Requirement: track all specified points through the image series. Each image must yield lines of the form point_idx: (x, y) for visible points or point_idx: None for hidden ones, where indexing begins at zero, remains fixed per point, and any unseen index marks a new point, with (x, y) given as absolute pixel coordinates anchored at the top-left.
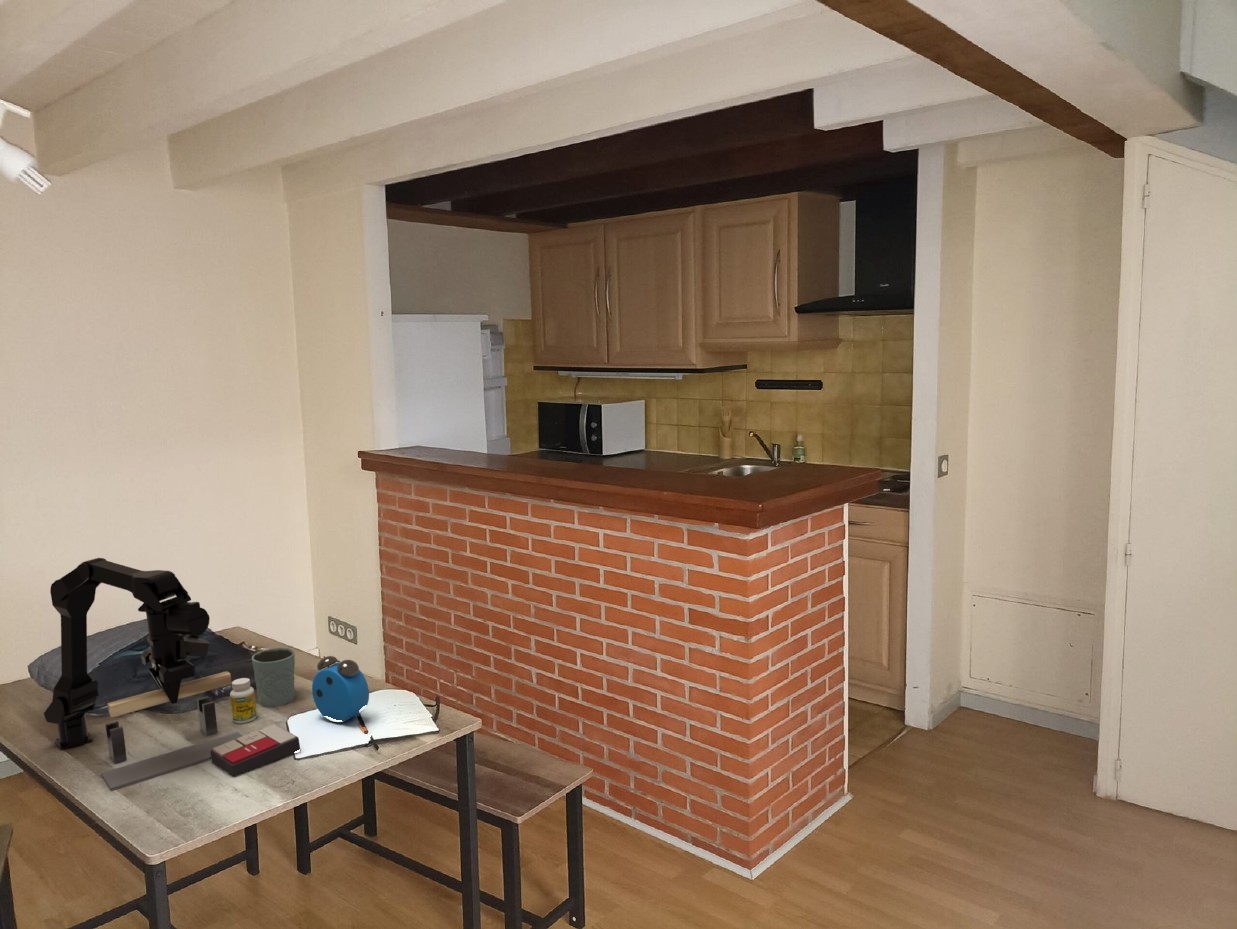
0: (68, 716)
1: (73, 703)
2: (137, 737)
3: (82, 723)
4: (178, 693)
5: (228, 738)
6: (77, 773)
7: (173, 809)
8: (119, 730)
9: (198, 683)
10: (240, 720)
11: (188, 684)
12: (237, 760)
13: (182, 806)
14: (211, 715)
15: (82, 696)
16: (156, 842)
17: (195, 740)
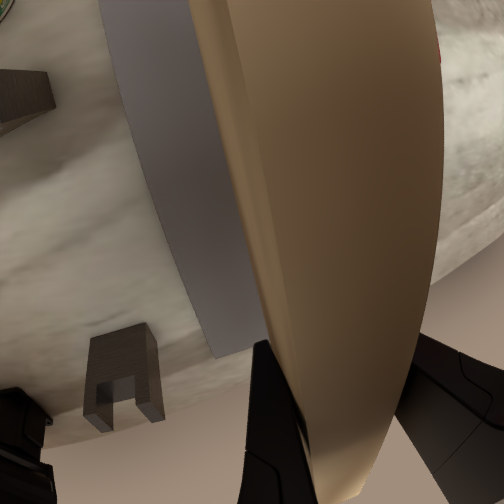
0: (26, 464)
1: (51, 498)
2: (3, 314)
3: (19, 434)
4: (420, 334)
5: (145, 23)
6: (175, 390)
7: (455, 199)
8: (154, 402)
9: (432, 177)
10: (7, 3)
11: (407, 302)
12: (439, 51)
13: (457, 184)
14: (19, 87)
15: (26, 496)
16: (499, 222)
17: (71, 144)
